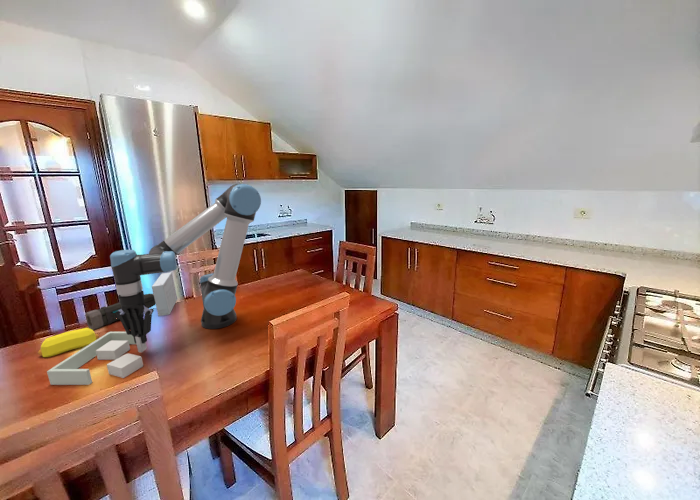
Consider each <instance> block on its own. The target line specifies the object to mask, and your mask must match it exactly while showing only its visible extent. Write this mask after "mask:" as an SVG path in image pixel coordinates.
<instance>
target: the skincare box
mask: <svg viewBox="0 0 700 500" xmlns="http://www.w3.org/2000/svg"><path fill="white" fill-rule="evenodd" d="M151 289H152V290H151V291H152V294H154V299H155V303H156V304H155V306H156V311H157V315H158V317H162V316H169V315H170V314H171V312H172V310H173V309H174V307H175V304H176V302H177V301H178V295H177V291H176V286H175V281H174V276H173V272H172V271H169V272H162V273H160V275H159V277H158V278H157V279H156V280H155V281H154V282H153V284H152V286H151Z"/></svg>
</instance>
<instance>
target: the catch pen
mask: <svg viewBox="0 0 700 500" xmlns="http://www.w3.org/2000/svg"><path fill="white" fill-rule="evenodd" d="M111 340H118V341H129V345H137V344H136V343H135V342H134V337H133V336H132V335H128V334H127V333H126V331H108V332H106V333H105V334H104V335H101V336H99V339H97V340H95V341H94V342H92V343H91V344H89V345H88V346H85V347H82V348H80V350H78V351H77V352H75V353H73V354H72V355H70V356H68V357H67V358H66V359H64V360H63V361H61V362H59V363H57V364H55V365H54V366H53V367H52V368H50V369H48V370H47V371H46V374H47V377H48V381H49V384H50V386H53V385H54V386H67V385H68V386H70V385H72V386H74V385H75V386H77V385H78V386H81V385H83V386H85V385H86V386H87V385H88V386H89V385H91V384H92V383H93V379H92V376H91V371H90V369H89V368H81V367H82V366H83V365H85V364H86V363H88V362H90V361H91V360H92V359H94V358H95V357H97V354H96V350H97V349H99V348H100V347H102V346H103V345H105V344H106V343H108V342H109V341H111Z"/></svg>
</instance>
